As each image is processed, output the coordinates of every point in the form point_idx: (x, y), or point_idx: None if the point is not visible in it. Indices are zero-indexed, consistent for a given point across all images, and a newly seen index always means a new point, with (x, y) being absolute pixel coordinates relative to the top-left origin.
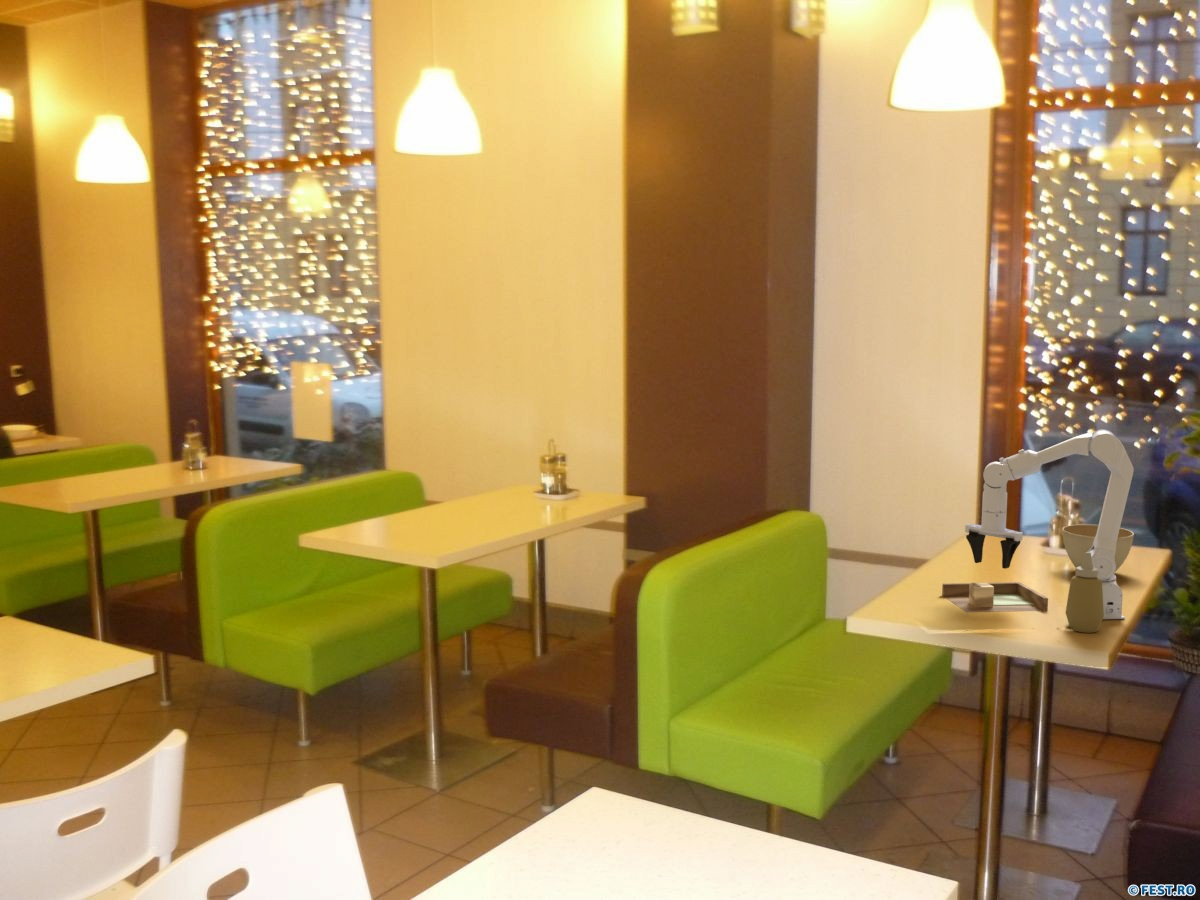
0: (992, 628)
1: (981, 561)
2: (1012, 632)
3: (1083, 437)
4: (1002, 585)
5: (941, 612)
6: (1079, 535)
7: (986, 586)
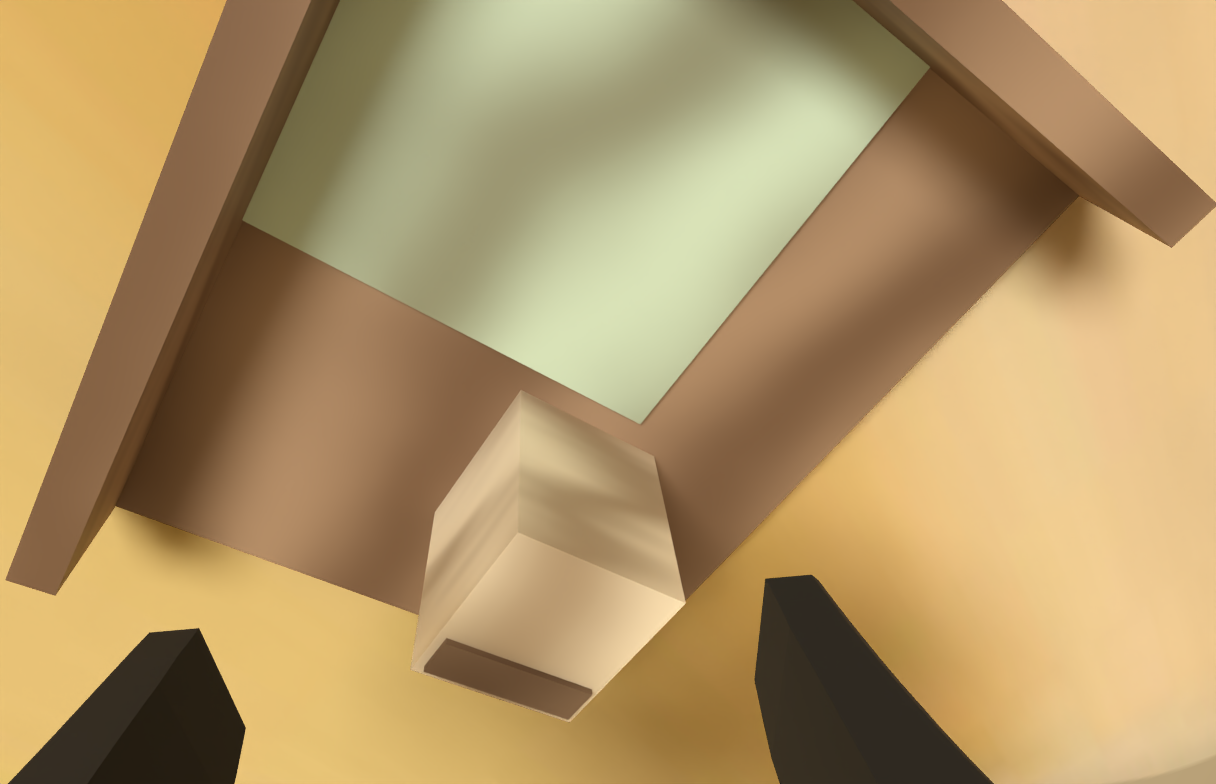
0: None
1: (196, 639)
2: (1004, 705)
3: None
4: None
5: (451, 717)
6: None
7: (619, 641)
